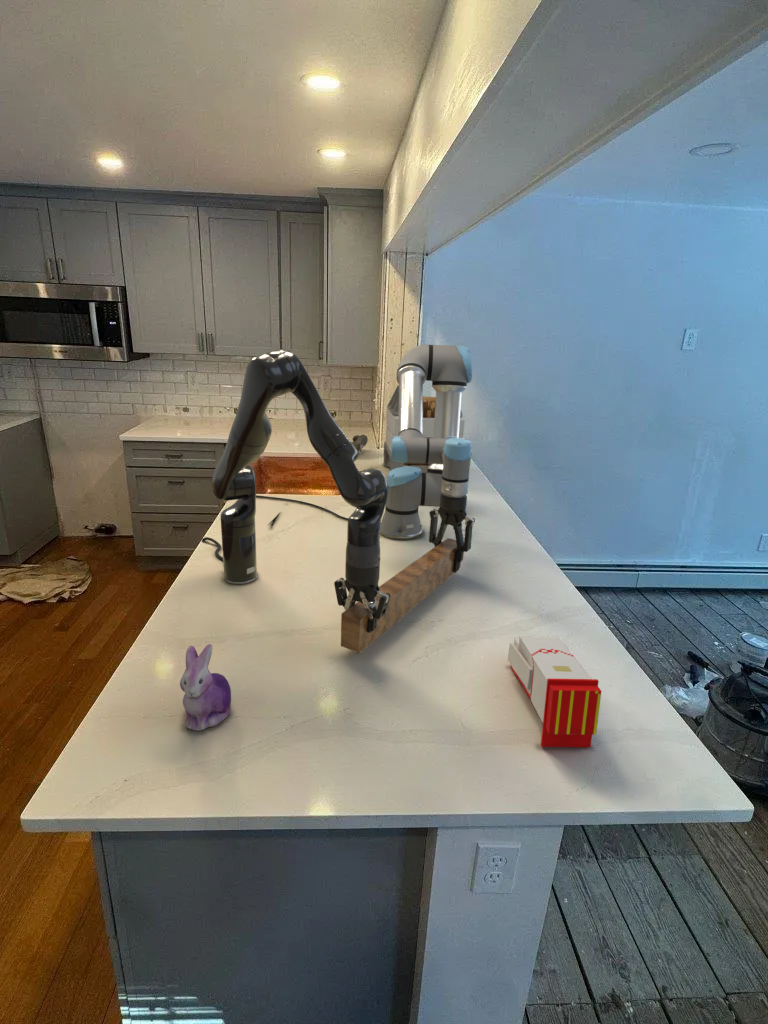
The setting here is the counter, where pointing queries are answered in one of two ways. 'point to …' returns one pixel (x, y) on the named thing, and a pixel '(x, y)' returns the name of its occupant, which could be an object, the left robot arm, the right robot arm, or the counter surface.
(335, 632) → the counter surface
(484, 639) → the counter surface
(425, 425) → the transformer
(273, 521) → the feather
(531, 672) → the toy
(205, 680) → the figurine
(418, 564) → the post
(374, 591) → the left robot arm
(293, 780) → the counter surface
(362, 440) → the fossil
